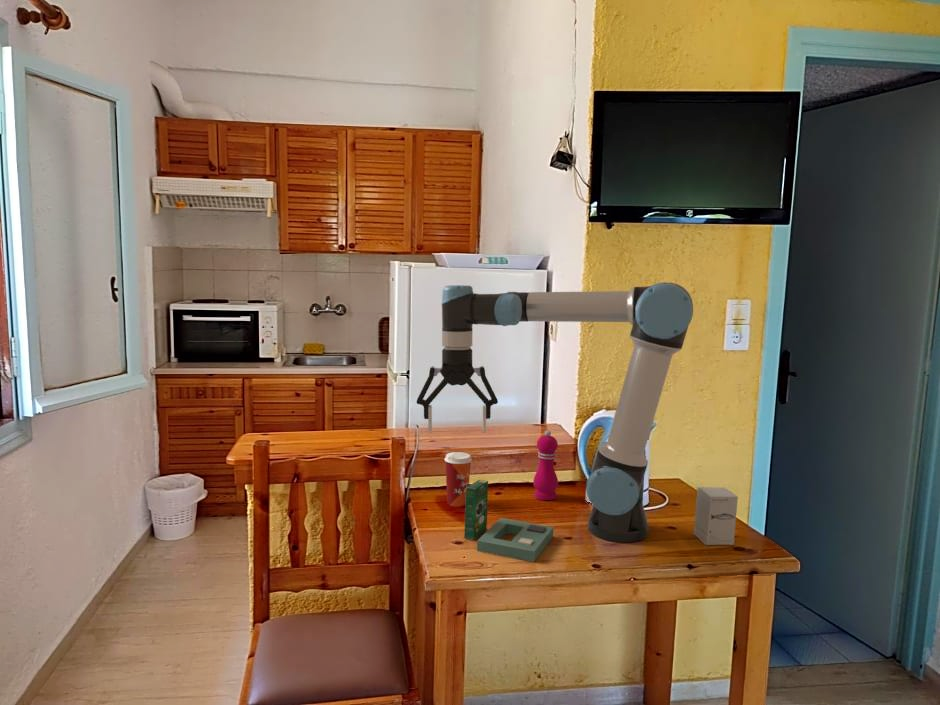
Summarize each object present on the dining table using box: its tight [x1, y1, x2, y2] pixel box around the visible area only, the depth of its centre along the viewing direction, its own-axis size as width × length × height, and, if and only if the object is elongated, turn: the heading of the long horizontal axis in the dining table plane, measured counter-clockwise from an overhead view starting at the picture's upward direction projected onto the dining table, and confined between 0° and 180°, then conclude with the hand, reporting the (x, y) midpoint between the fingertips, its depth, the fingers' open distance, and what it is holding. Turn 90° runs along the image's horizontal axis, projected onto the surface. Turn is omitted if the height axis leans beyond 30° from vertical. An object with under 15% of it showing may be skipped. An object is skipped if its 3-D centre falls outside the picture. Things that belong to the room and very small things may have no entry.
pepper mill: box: [532, 430, 559, 501], centre depth 194 cm, size 7×7×20 cm
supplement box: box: [693, 486, 739, 546], centre depth 166 cm, size 7×7×13 cm
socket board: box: [476, 517, 554, 563], centre depth 162 cm, size 14×16×3 cm
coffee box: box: [464, 479, 489, 541], centre depth 166 cm, size 8×3×13 cm, turn 154°
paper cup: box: [444, 451, 473, 508], centre depth 188 cm, size 8×8×14 cm
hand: (457, 431), depth 168 cm, fingers open, 13 cm apart
